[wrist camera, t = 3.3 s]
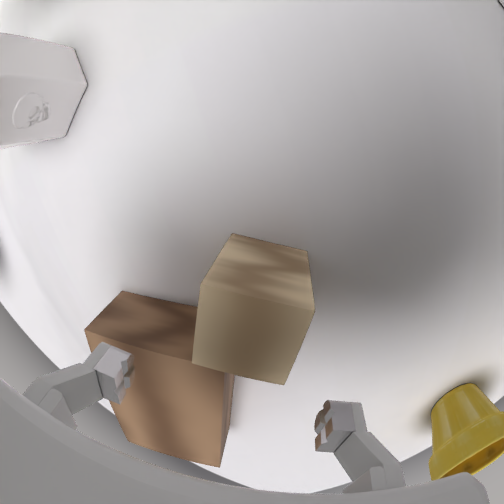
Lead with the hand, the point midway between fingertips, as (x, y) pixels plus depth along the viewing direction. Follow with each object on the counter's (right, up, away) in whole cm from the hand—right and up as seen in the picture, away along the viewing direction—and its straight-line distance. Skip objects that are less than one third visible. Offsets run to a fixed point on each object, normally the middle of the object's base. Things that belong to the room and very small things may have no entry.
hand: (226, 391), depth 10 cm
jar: (-16, +19, +6) cm, 25 cm away
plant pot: (+25, -12, +12) cm, 30 cm away
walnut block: (-6, -6, +14) cm, 16 cm away
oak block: (+2, +4, +9) cm, 10 cm away
